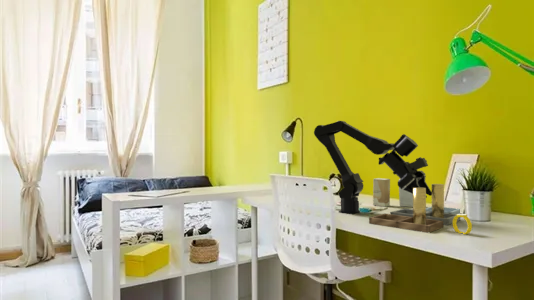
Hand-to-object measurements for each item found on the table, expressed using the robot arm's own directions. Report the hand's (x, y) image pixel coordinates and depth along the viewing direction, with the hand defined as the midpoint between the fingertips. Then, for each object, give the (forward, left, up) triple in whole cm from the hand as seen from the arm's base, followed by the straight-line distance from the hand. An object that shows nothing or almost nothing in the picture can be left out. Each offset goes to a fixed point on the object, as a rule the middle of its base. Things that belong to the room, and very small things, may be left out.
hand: (428, 196), depth 136 cm
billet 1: (+3, -14, -8) cm, 17 cm away
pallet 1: (-2, -14, -8) cm, 17 cm away
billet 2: (+3, +1, -8) cm, 9 cm away
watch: (+16, -14, -9) cm, 23 cm away
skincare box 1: (-29, +18, -9) cm, 35 cm away
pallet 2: (-2, +1, -8) cm, 9 cm away
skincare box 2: (-20, +24, -9) cm, 32 cm away
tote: (-1, +14, -8) cm, 16 cm away
